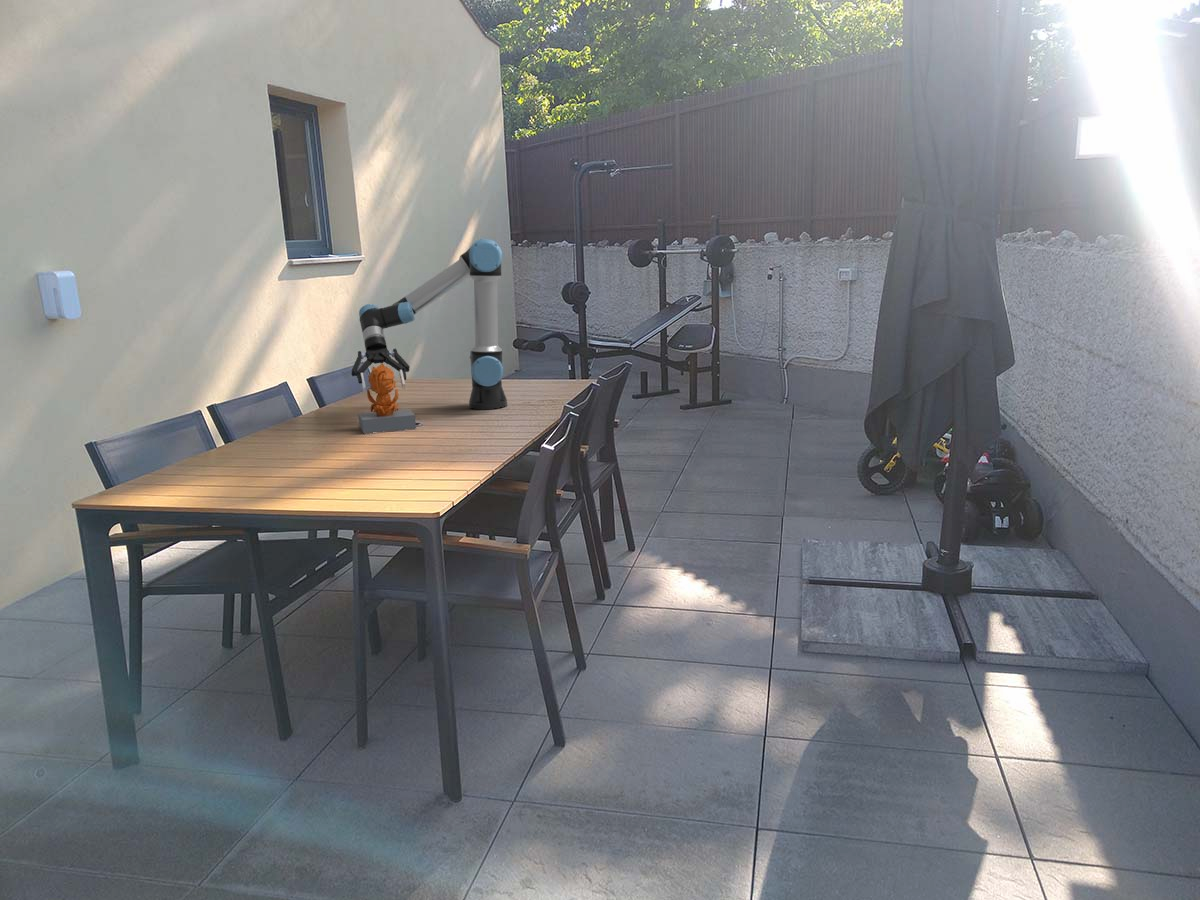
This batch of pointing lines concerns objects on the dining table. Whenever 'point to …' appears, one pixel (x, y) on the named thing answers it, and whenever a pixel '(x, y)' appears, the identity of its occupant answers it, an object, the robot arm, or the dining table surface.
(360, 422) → the base brick
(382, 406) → the orange upright figure
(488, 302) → the robot arm
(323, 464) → the dining table surface
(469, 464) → the dining table surface
